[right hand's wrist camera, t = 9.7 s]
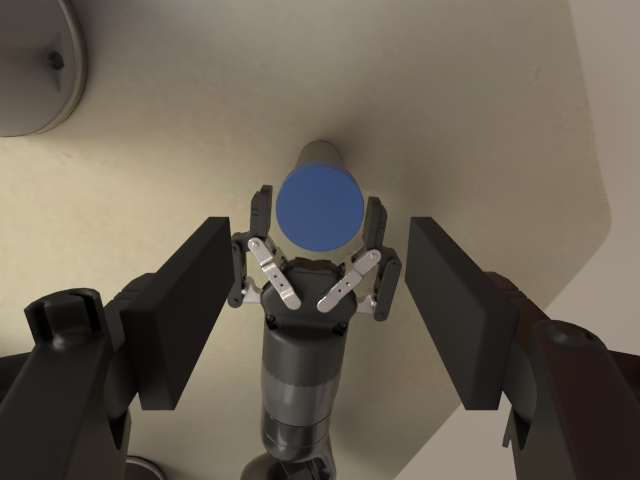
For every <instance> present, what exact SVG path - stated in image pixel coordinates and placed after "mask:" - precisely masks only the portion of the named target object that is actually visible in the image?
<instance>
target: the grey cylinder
mask: <svg viewBox="0 0 640 480" xmlns="http://www.w3.org/2000/svg"><path fill="white" fill-rule="evenodd" d="M314 160H326V161H331V162H334V163H336V164H339V165H340V166H342V167H344V165H343V162H342V159H341V156H340V154H339V152H338V150H337V149H336V148H335V146H333V145H332V144H330V143H329V142H326V141H314V142H311V143H309V144H308V145H307V146H305V147H304V149H303V150H302V152H301V154H300V156H299V159H298V162H297V164H296V167H298V166H300V165H301V164H304V163H306V162H309V161H314ZM296 167H295V168H296ZM344 168H345V167H344Z"/></svg>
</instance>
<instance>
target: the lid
mask: <svg viewBox="0 0 640 480" xmlns="http://www.w3.org/2000/svg"><path fill="white" fill-rule="evenodd" d="M363 216H364V201H363V197H362V194H361V191H360V189H359V187H358V185H357V183H356V181H355V179H354V178H353V176H352V175H351V174H350V173H349V172H348V171H347V170H346V169H345V168H344V167H342V166H340V165H339V164H336V163H334V162H331V161H326V160H314V161H309V162H306V163H304V164H301V165H300V166H298V167H296V168H295V169H294V170H293V171H292V172H291V173H290V174H289V175H288V176H287V177H286V179H285V181H284V182H283V185H282V187H281V189H280V191H279V194H278V196H277V201H276V217H277V221H278V224H279V226H280V228H281V230H282V231H283V233H284V234H285V235H286V237H287V238H288V239H289V240H291V241H292V242H293V243H294V244H296V245H298V246H300V247H302V248H304V249H307V250H311V251H329V250H333V249H336V248H338V247H340V246H342V245H344V244H345V243H347V242H348V241H349V240H351V239H352V238H353V236H354V235H355V234H356V233H357V231H358V230H359V228H360V226H361V223H362V220H363Z"/></svg>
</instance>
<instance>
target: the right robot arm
mask: <svg viewBox="0 0 640 480" xmlns="http://www.w3.org/2000/svg"><path fill="white" fill-rule="evenodd" d="M86 73H87V55H86V46H85V41H84V37H83V33H82V30H81V26H80V24H79V21H78V18H77V16H76V14H75V11H74V9H73V7H72V5H71V3H70V2H69V0H0V137H16V136H25V135H33V134H38V133H42V132H45V131H47V130H50V129H52V128H54V127H55V126H57V125H59V124H60V123H61V122H63V121H64V120H65V119H66V118H67V117H68V116H69V115H70V114H71V113H72V111H73V110H74V108H75V107H76V105H77V103H78V102H79V100H80V97H81V95H82V92H83V89H84V86H85V80H86ZM234 282H235V274H234V263H233V253H232V242H231V232H230V222H229V217H209V218H208V219H207V220H206V221H205V222H204V223H203V224H202V225H201V226H200V227H199V228H198V229H197V230H196V231H195V232H194V233H193V234H192V235H191V236H190V237H189V238H188V240H187V241H186V242H185V243H184V244H183V245H182V246H181V247H180V248H179V249H178V250H177V251H176V252H175V253H174V254H173V255H172V256H171V257H170V258H169V259H168V260H167V262H166V263H165V264H164V265H163V266H162V267H161V268H160V269H159V270H158V271H157V272H156V273H145V274H143V275H142V276H140V277H138V278H136V279H134V280H132V281H131V282H130V283H129V284H128V285H127V286H125V287H124V288H123V289H122V292H119V293H118V294H117V295H116V296H115V297H114V299H113V300H111V301H110V302H109V303H108V304H107V305H106V306H105V307H104V308H103V304H102V301H101V297H100V293H99V292H98V291H96V290H94V289H89V288H75V289H68V290H63V291H59V292H55V293H52V294H50V295H47V296H44V297H42V298H40V299H38V300H36V301H34V302H32V303H31V304H30V305H29V306H27V307H26V308H25V309H24V312H25V315H26V318H27V321H28V324H29V327H30V330H31V332H32V335H33V338H34V341H35V344H36V345H35V347H34V348H33V350H32V352H28V353H22V354H17V355H12V356H6V357H1V358H0V480H123V478H124V471H125V464H126V457H127V451H128V444H129V437H130V430H131V423H132V421H131V415H130V411H129V407H128V406H129V405H130V403H131V402H132V400H133V398H134V397H135V395H136V394H137V392H138V394H139V399H140V403H141V407H142V410H174V409H175V407H176V405H177V403H178V401H179V399H180V397H181V395H182V392H183V390H184V388H185V386H186V384H187V382H188V380H189V378H190V376H191V373H192V371H193V369H194V367H195V365H196V363H197V361H198V359H199V356H200V354H201V352H202V350H203V348H204V346H205V344H206V342H207V339H208V337H209V335H210V333H211V331H212V329H213V327H214V325H215V322H216V320H217V318H218V316H219V314H220V312H221V310H222V308H223V305H224V303H225V301H226V299H227V297H228V295H229V293H230V291H231V288H232V286H233V284H234ZM405 282H406V284H407V286H408V288H409V291H410V293H411V295H412V297H413V299H414V301H415V303H416V305H417V308H418V310H419V312H420V314H421V316H422V318H423V320H424V322H425V325H426V327H427V329H428V331H429V333H430V335H431V337H432V339H433V342H434V344H435V346H436V348H437V350H438V352H439V354H440V356H441V359H442V361H443V363H444V365H445V367H446V369H447V371H448V373H449V376H450V378H451V380H452V382H453V384H454V386H455V388H456V390H457V392H458V395H459V397H460V399H461V401H462V403H463V405H464V407H465V409H466V410H498V407H499V403H500V399H501V394H502V390H503V392H504V393H505V395H506V396H507V398H508V400H509V401H510V403H511V404H512V407H511V411H510V415H509V419H508V423H507V427H506V431H505V434H504V438H503V445H502V446H503V447H508V444H509V440H510V439H511V443H512V450H513V456H514V463H515V470H516V477H517V480H640V356H638V355H632V354H627V353H622V352H616V351H611V350H608V349H607V348H606V346H605V344H604V343H603V342H602V341H601V340H600V339H599V338H598V337H597V336H596V335H594V334H593V333H591V332H590V331H588V330H586V329H584V328H582V327H579V326H577V325H575V324H572V323H568V322H564V321H560V320H551V319H550V318H549V317H548V316H547V315H546V314H545V313H544V312H543V311H542V310H540V309H539V308H538V307H537V306H536V305H535V304H534V303H533V302H532V301H531V300H530V299H527V296H526V295H525V294H524V293H522V292H521V291H519V289H518V288H517V287H516V286H515V285H514V284H513V283H512V282H511V281H510V280H509V279H507V278H505V277H503V276H501V275H499V274H497V273H495V272H483V271H482V270H481V269H480V268H479V267H478V266H477V265H476V264H475V263H474V262H473V260H472V259H471V258H470V257H469V256H468V255H467V254H466V253H465V252H464V251H463V250H462V249H461V248H460V247H459V246H458V245H457V244H456V243H455V242H454V241H453V240H452V238H451V237H450V236H449V235H448V234H447V233H446V232H445V231H444V230H443V229H442V228H441V227H440V226H439V225H438V224H437V223H436V222H435V221H434V220H433V219H432V218H431V217H411V222H410V232H409V242H408V253H407V263H406V274H405Z"/></svg>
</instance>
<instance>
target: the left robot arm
mask: <svg viewBox="0 0 640 480" xmlns="http://www.w3.org/2000/svg"><path fill="white" fill-rule="evenodd" d="M272 189H273V187H272V186H271V185H263V186H262V188H261V191H260V192H259V191H257V192H256V193H255V195H254V197H253V199H252V201H251V218H250V231H248V232H245V233H240V232H237V233H234V234H233V235H232V237H231V242H232V253H233V263H234V274H235V282H234V284H233V286H232V288H231V291H230V293H229V295H228V297H227V299H228V304H229V305H230V306H231V307H233V308H238V307H240V306H241V304H242V302H248V303H261V305H262V307H263V309H264V312H265V322H264V338H263V354H262V370H261V386H262V396H263V398H262V413H261V439H262V442H263V445H264V447H265V449H266V450H267V452H266V453H264V454H262V455H260V456H258V457H256V458H254V459H253V460H252V461H250V462H249V463H248V464H247V465H246V466H245V468H244V470H243V472H242V474H241V477H240V480H336V466H335V462H334V458H333V453H332V447H331V440H330V434H329V425H330V418H331V412H332V406H333V402H334V399H335V396H336V393H337V390H338V386H339V380H340V374H341V368H342V362H343V355H344V349H345V343H346V337H347V331H348V325H349V321H350V319H351V317H352V316H353V315H354V314H355V312H360V313H367V314H373V315H374V318H375V320H376V321H379V322H382V321H385V320H386V319H387V317H388V314H389V310H390V307H391V303H392V299H393V296H394V292H395V289H396V285H397V282H398V278H399V275H400V271H401V267H402V264H401V262H400V260H399V258H398V256H397V254H396V252H395V250H394V249H392V248H387V247H384V246H383V245H382V242H383V237H384V232H385V226H386V221H387V213H386V209H385V208H384V206H383V205H381V201H380V200H379V198H378V197H370V196H369V199H368V205H367V211H366V217H365V223H364V229H363V236H362V238H363V241H364V242H363V243H362V244H361V245H360V246H359V247H358V248H357V249H356V250H355V251H354V252H353V253H351V254H348V255H347V256H345V257H344V258H343V259H342V260H341V261H340V262H339V263H338V264H337V265H335V264H333V263H331V260H316V261H312V260H309V259H306V258H301V257H295V259H293V260H290V261H289V260H288V259H287V257H286V256H285V254H284V253H283V252H282V250H281V249H280V248H279V247H277V246H276V245H275V243H274V242H273V240H272V239H271V237H270V236H269V235H268V232H269V229H270V222H271V206H272ZM248 251H251V252H252V253H253V254H254V256H255V257H256V259H257V260H258V261H259V263H260V264H261V267H262V270H263V272H264V273H265V275H266V276H267V278H268V279H269V281H268V282H267V283H266V284H265V285H264V287H263V288H262V289H260V288H258V287H256V285H255V282H254V280H253V279H252V278H251V277H250V276H248V277H247V262H246V252H248ZM376 263H377V264H379V268H378V272H377V276H376V280H375V284H374V288H373V289H372V288H369V289H368V290H367V291H366V292H365V294H364V296H363V297H360V298H356V295H355V293H354V291H353V290H352V289H353V288H354V287H355V286H356V285H357V284H358V283H359V282H360V281H361V280H362V279H363V276H364V275H365V273H367V272H368V271H369V270H370V269H371V268H372V267H373V266H374V265H375V264H376ZM123 480H166V479H165V476H164V475H163V473H162V472H161V471H160V470H159V469H158V468H157V467H156V466H155V465H153V464H151V463H150V462H148V461H145V460H143V459H139V458H135V457H126V464H125V471H124V478H123Z"/></svg>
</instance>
